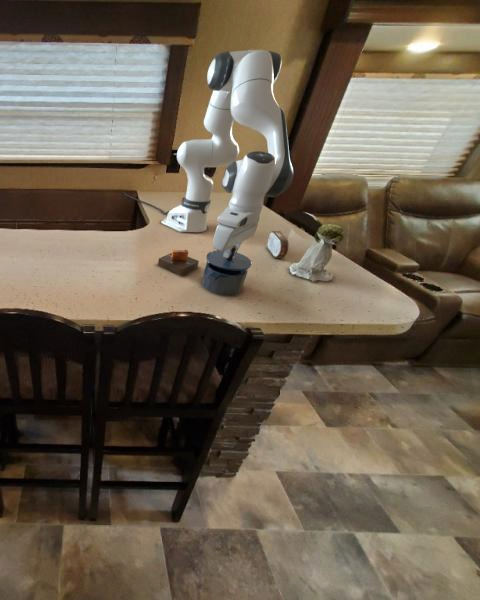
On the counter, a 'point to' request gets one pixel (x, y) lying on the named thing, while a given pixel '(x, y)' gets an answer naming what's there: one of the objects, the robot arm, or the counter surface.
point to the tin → (277, 244)
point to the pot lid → (229, 260)
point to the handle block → (178, 264)
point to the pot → (223, 280)
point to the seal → (179, 255)
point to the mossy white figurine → (319, 254)
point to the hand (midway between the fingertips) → (229, 255)
